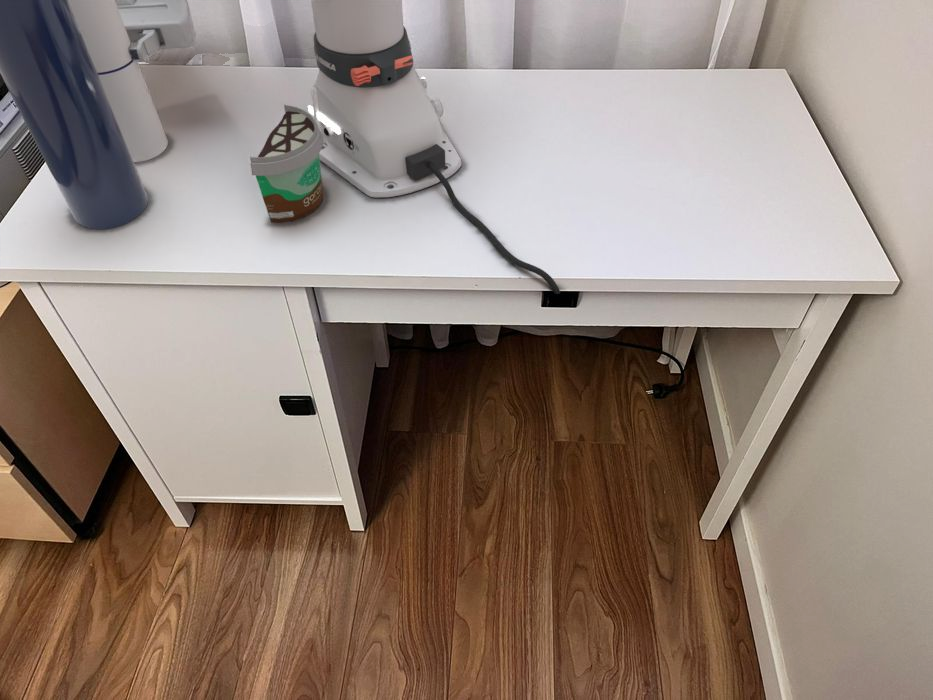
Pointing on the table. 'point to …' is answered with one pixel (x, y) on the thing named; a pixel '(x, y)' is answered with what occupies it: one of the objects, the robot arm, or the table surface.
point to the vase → (68, 112)
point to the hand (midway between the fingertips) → (101, 57)
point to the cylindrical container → (120, 77)
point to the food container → (291, 167)
